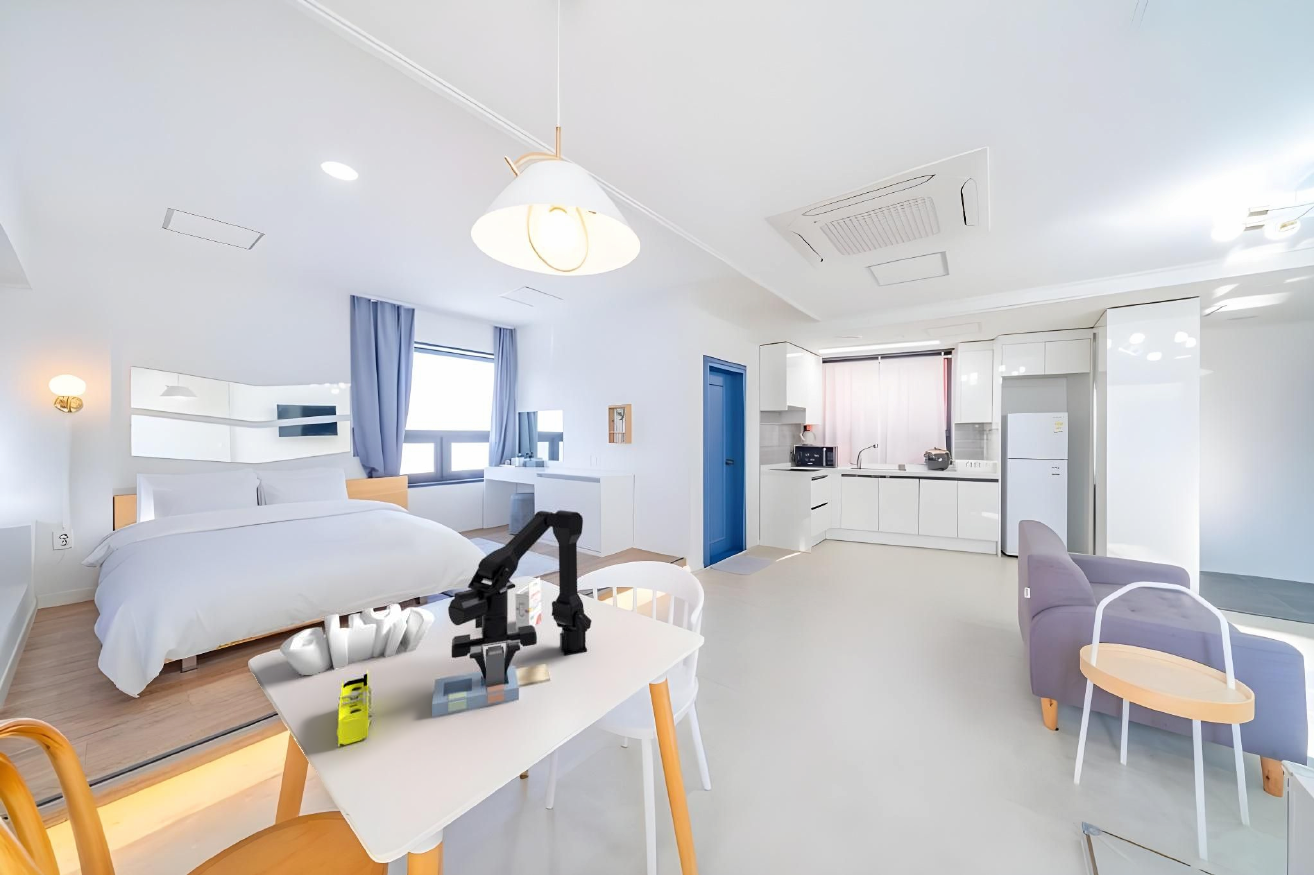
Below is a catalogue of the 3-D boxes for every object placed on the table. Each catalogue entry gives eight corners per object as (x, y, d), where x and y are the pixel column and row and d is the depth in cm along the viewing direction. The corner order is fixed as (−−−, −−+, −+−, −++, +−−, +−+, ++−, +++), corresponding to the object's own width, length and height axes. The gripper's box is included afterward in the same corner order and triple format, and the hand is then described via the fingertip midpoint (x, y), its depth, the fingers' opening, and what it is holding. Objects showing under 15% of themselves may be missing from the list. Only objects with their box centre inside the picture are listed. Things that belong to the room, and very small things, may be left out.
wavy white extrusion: (428, 630, 144) (428, 596, 144) (435, 651, 130) (436, 614, 130) (285, 659, 125) (286, 620, 125) (276, 687, 111) (276, 643, 111)
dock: (514, 677, 116) (514, 664, 116) (519, 701, 105) (519, 686, 105) (435, 692, 109) (435, 678, 109) (431, 718, 99) (432, 703, 99)
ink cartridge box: (527, 620, 152) (527, 575, 152) (541, 621, 151) (541, 576, 151) (514, 630, 144) (514, 583, 144) (529, 632, 143) (529, 584, 143)
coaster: (545, 666, 121) (545, 663, 121) (550, 681, 114) (550, 678, 114) (513, 672, 118) (513, 669, 118) (516, 688, 111) (516, 685, 111)
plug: (503, 679, 111) (503, 643, 111) (504, 687, 108) (504, 651, 108) (485, 682, 110) (485, 646, 110) (486, 691, 106) (486, 654, 106)
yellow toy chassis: (371, 741, 92) (371, 699, 92) (336, 751, 89) (336, 708, 89) (370, 702, 105) (371, 665, 105) (340, 709, 102) (340, 672, 102)
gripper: (531, 595, 120) (531, 654, 120) (453, 604, 113) (453, 668, 113) (537, 609, 110) (537, 675, 110) (451, 621, 102) (451, 691, 102)
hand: (494, 676), depth 109 cm, fingers closed on plug, 4 cm apart
